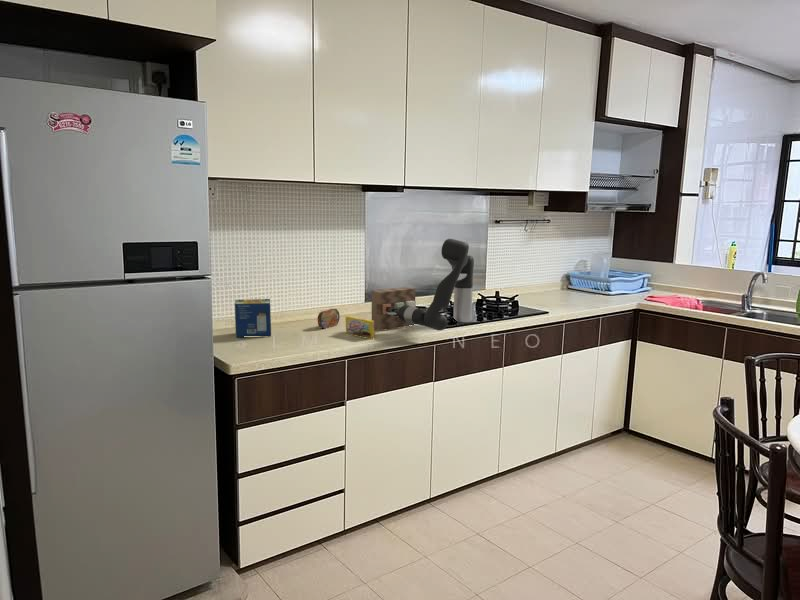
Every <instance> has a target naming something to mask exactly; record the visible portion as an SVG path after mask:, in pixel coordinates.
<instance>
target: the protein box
mask: <svg viewBox="0 0 800 600" xmlns="http://www.w3.org/2000/svg"><path fill="white" fill-rule="evenodd" d="M271 310H272V309H271V299H270V298H259V299H258V298H255V299H253V298H252V299H235V301H234V320H235V321H234V324H235V325H234V326H235V338H236V337H244V336H271V337H272V315H271Z"/></svg>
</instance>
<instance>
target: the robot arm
mask: <svg viewBox="0 0 800 600" xmlns="http://www.w3.org/2000/svg"><path fill="white" fill-rule="evenodd" d="M469 248H470V246H469V243H468V242H467V241H466V242H465V241H463V240H457V239H454V238H447V239H446V240H444V241H443V243H442V246H441V251H440V252H441V257H442V258H443V259H444V260H446V261H447V262H448V264H449V265H450V266H451V269H452V270H451V272H450V273H449V274H447V275H446V276H445V277H444V278H443V279H442V280H441V281H440V282H439V283H438V285H437V286H436V290H435V293H434V296H433V300H432V301H431V303H430V305H429V307H428V309H423V308H419V307H412V306H408V305H404V306H402V307H397V308H395V307H394V308H393V307H386V311H387V312H388V316H392V314H393V315H394V316H396V317H399V319H400V320H401V321H403V322H407V323H411V324H415V325H418V326H423V327H425V328H426V327H427V328H428V329H432V330H435V331H439V332H441V331H444V329H446V328H447V326H448V323H449V322H448V321H449V320H448V319H447V317H446V316H445V315H444V314H443V313H440V311H441V309H442V310H446V309H448V307H449V306H450V302H451V299H452V295H453V318H454V319H455V320H456V321H457V323H471V322H472V321H474V301H473V284H474V283H473V282H474V280H473V279H474V268H475V267H474V266H475V261H474V257H473V255H469V254H468V253H469ZM460 275H466V276H465V277H463V278H461V279H459V278H460ZM456 321H455V322H456Z"/></svg>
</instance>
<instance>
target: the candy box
mask: <svg viewBox="0 0 800 600" xmlns="http://www.w3.org/2000/svg"><path fill="white" fill-rule="evenodd" d="M345 333H347V334H346V335H350V334H352V336H355V335H356V336H355V337H359V336H361V338H364V337H366V338H365V339H369V338H370V340H374V339H375V329H374V321H373V320H372V319H367V318H361V317H356V316H353V315H352V316H351V315H346V316H345ZM373 338H374V339H373Z"/></svg>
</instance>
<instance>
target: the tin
mask: <svg viewBox="0 0 800 600" xmlns="http://www.w3.org/2000/svg"><path fill="white" fill-rule="evenodd" d="M340 318H341V317H340V312H339V310H338V309H337V308H329V309H326V310H322V311H320V312H319V313H318V315H317V325H318V327H319V328H320V329H324V330H326V328H327V329H329V327H330V328H333V327H336V326H338V324H339V322H340Z"/></svg>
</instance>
